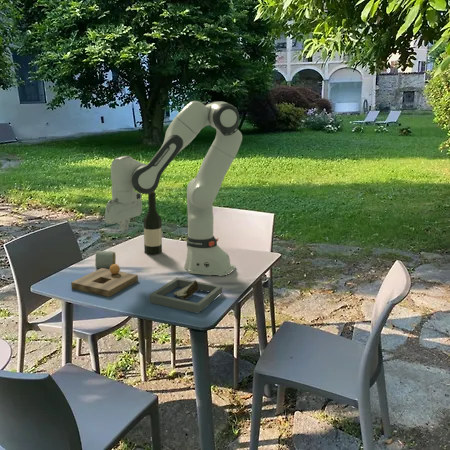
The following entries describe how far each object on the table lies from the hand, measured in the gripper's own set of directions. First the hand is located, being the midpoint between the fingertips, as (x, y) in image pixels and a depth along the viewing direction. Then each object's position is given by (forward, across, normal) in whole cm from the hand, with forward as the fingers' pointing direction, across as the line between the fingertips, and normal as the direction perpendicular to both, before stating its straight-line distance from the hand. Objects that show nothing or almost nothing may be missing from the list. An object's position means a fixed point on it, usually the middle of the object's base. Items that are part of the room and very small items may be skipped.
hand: (124, 229), depth 183 cm
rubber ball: (+15, -8, 0) cm, 16 cm away
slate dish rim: (+19, -11, -35) cm, 41 cm away
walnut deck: (+19, -14, 0) cm, 23 cm away
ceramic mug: (+19, +3, +13) cm, 24 cm away
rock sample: (+20, -10, -34) cm, 40 cm away
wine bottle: (+19, +30, +6) cm, 36 cm away
